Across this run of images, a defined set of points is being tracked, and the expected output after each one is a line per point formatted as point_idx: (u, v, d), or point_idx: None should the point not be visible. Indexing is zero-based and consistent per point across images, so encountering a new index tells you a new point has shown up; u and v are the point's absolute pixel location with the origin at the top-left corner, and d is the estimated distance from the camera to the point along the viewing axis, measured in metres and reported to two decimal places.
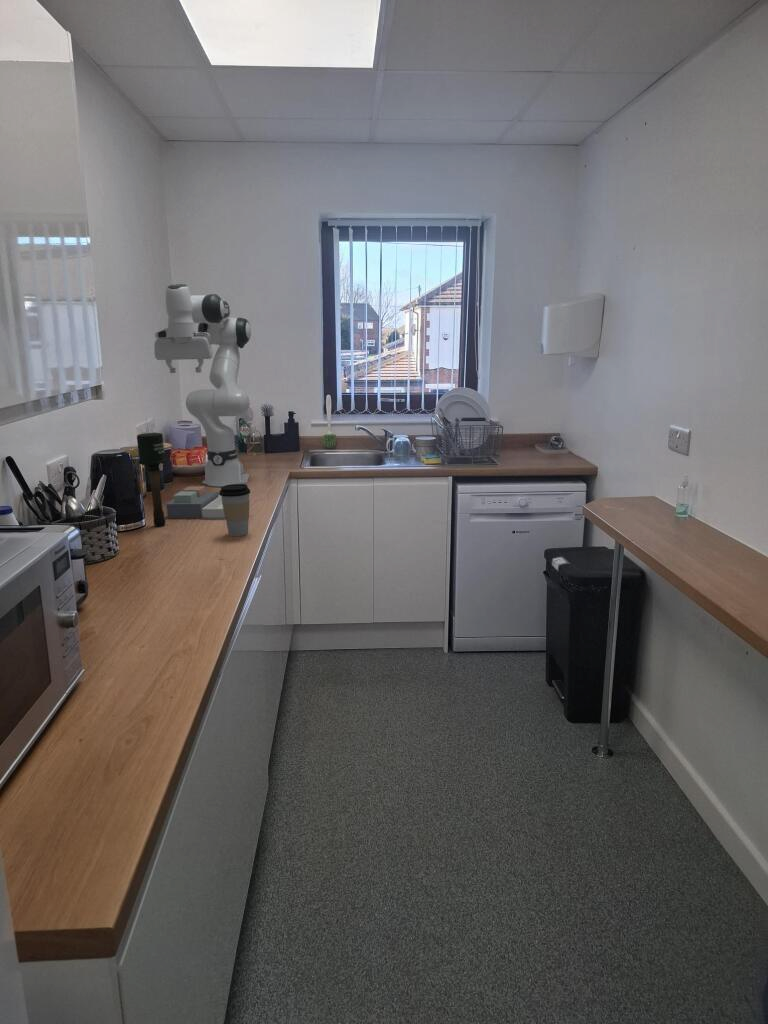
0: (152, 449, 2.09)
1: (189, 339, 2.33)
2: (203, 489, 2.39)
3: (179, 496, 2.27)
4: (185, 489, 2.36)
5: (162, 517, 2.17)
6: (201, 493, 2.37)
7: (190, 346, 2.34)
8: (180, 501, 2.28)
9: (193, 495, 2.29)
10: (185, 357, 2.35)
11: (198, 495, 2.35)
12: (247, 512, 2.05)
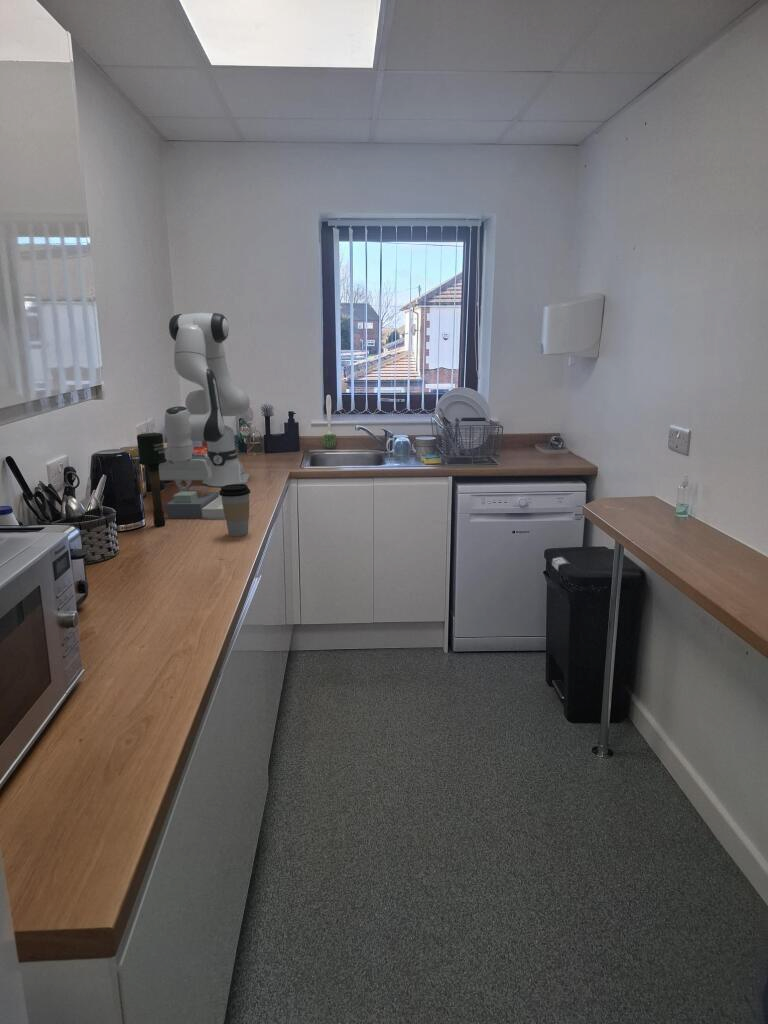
0: (152, 449, 2.09)
1: (188, 461, 2.33)
2: (206, 489, 2.39)
3: (179, 496, 2.27)
4: (188, 489, 2.36)
5: (162, 517, 2.17)
6: (204, 493, 2.37)
7: (188, 467, 2.34)
8: (180, 501, 2.28)
9: (193, 495, 2.29)
10: (184, 478, 2.35)
11: (201, 495, 2.35)
12: (247, 512, 2.05)
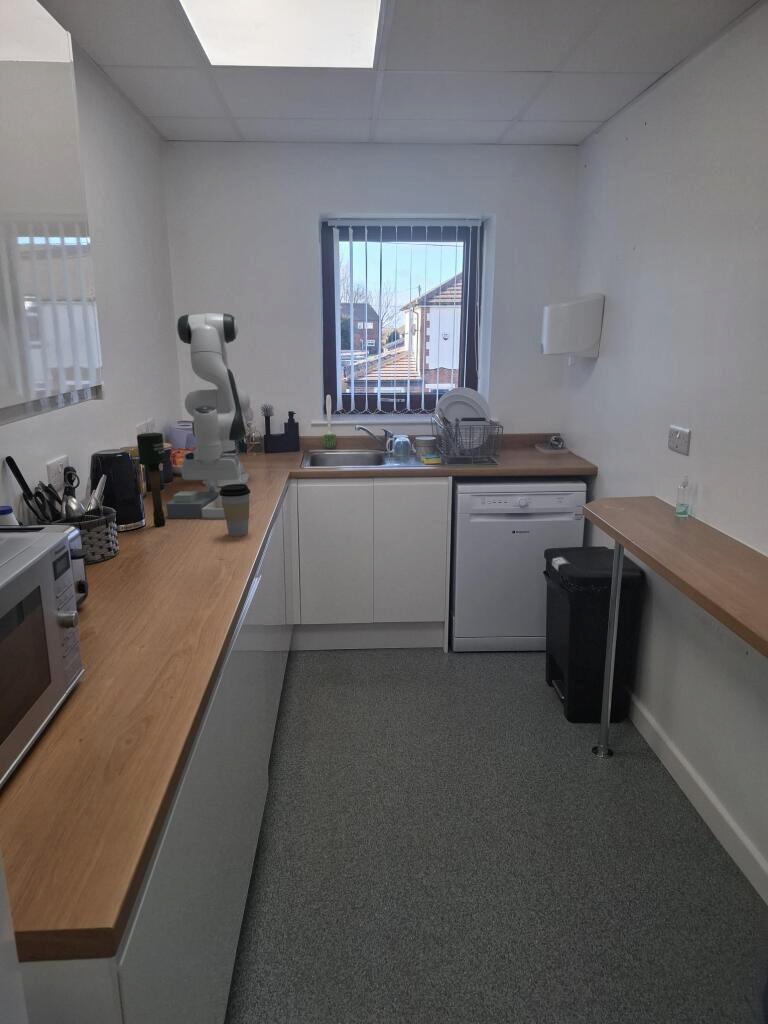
0: (152, 449, 2.09)
1: (217, 461, 2.32)
2: None
3: (179, 496, 2.27)
4: None
5: (162, 517, 2.17)
6: None
7: (217, 467, 2.33)
8: (180, 501, 2.28)
9: (193, 495, 2.29)
10: (212, 478, 2.34)
11: None
12: (247, 512, 2.05)
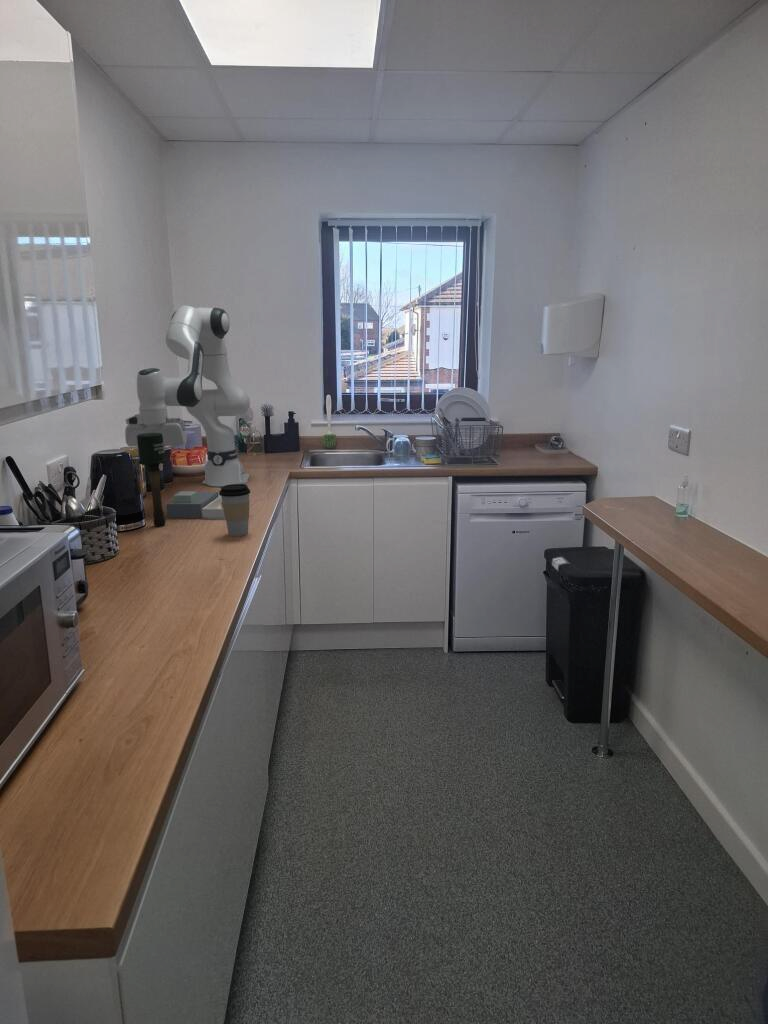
0: (152, 449, 2.09)
1: (161, 425, 2.23)
2: None
3: (179, 496, 2.27)
4: None
5: (162, 517, 2.17)
6: None
7: (162, 432, 2.24)
8: (180, 501, 2.28)
9: (193, 495, 2.29)
10: None
11: None
12: (247, 512, 2.05)
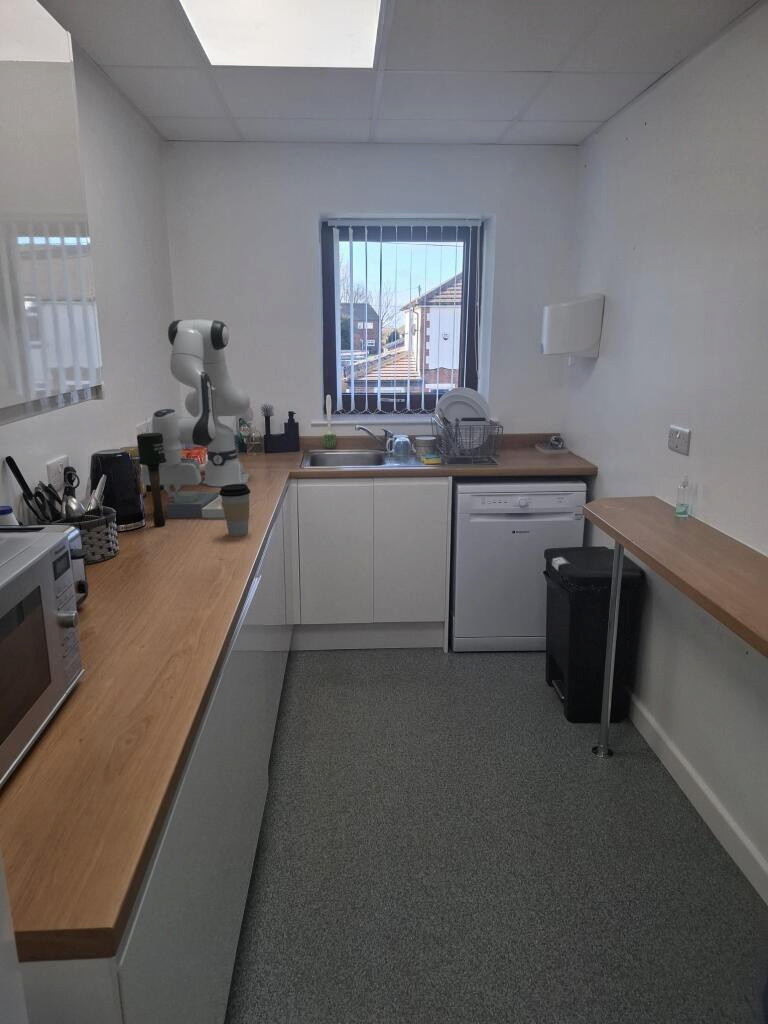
0: (152, 449, 2.09)
1: (176, 465, 2.26)
2: None
3: (179, 496, 2.27)
4: None
5: (162, 517, 2.17)
6: None
7: (177, 472, 2.27)
8: (180, 501, 2.28)
9: (193, 495, 2.29)
10: (172, 483, 2.27)
11: None
12: (247, 512, 2.05)
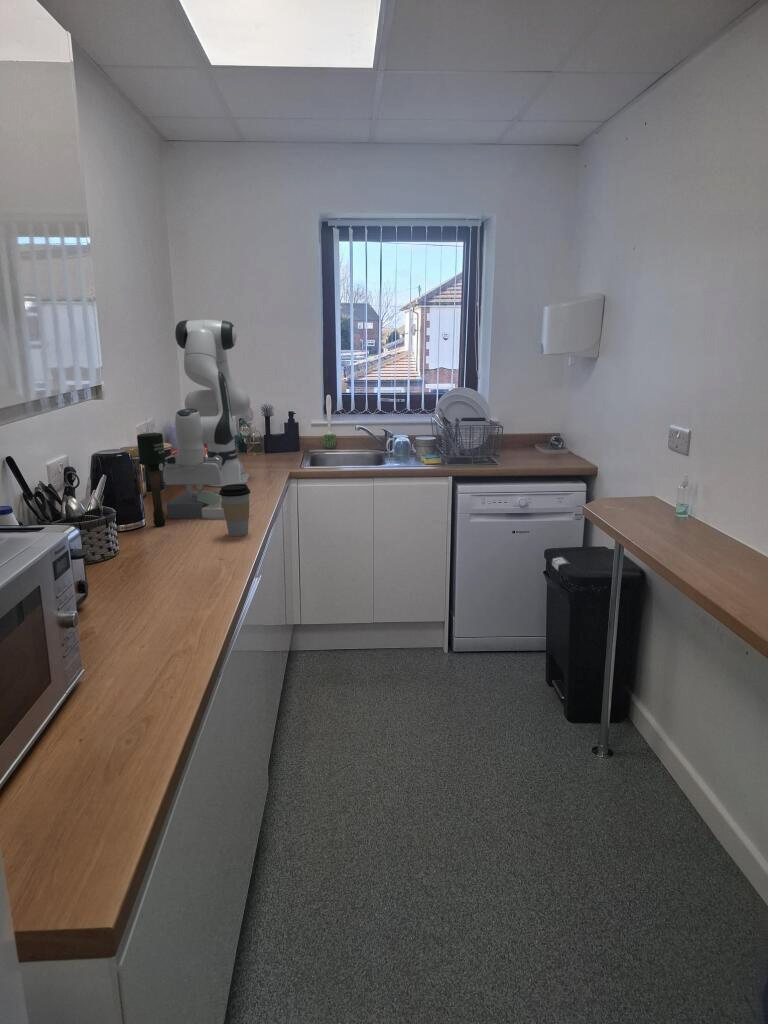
0: (152, 449, 2.09)
1: (199, 465, 2.25)
2: None
3: (203, 496, 2.27)
4: None
5: (162, 517, 2.17)
6: None
7: (200, 471, 2.26)
8: (203, 501, 2.27)
9: (217, 498, 2.29)
10: (195, 483, 2.27)
11: None
12: (247, 512, 2.05)
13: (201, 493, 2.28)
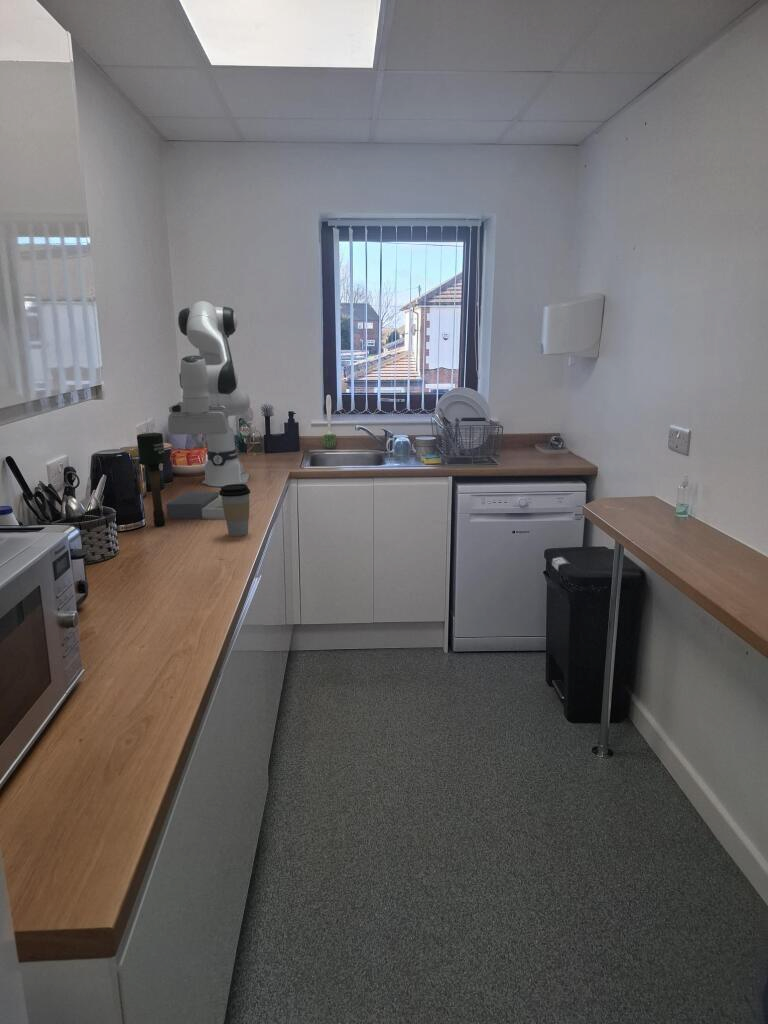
0: (152, 449, 2.09)
1: (205, 414, 2.20)
2: None
3: None
4: None
5: (162, 517, 2.17)
6: None
7: (205, 420, 2.21)
8: None
9: None
10: (200, 432, 2.22)
11: None
12: (247, 512, 2.05)
13: None
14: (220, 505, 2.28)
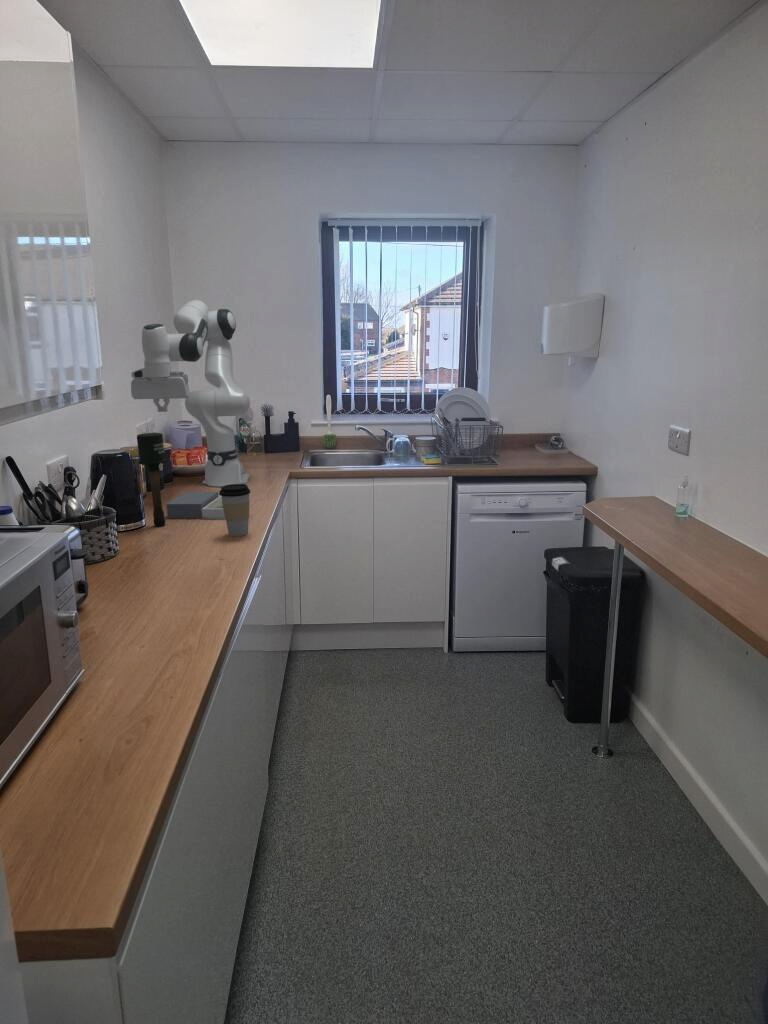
0: (152, 449, 2.09)
1: (165, 379, 2.33)
2: None
3: None
4: None
5: (162, 517, 2.17)
6: None
7: (166, 385, 2.33)
8: None
9: None
10: (161, 396, 2.34)
11: None
12: (247, 512, 2.05)
13: None
14: (220, 505, 2.28)
